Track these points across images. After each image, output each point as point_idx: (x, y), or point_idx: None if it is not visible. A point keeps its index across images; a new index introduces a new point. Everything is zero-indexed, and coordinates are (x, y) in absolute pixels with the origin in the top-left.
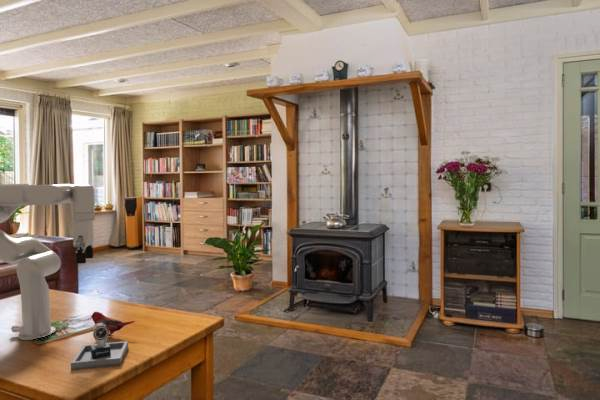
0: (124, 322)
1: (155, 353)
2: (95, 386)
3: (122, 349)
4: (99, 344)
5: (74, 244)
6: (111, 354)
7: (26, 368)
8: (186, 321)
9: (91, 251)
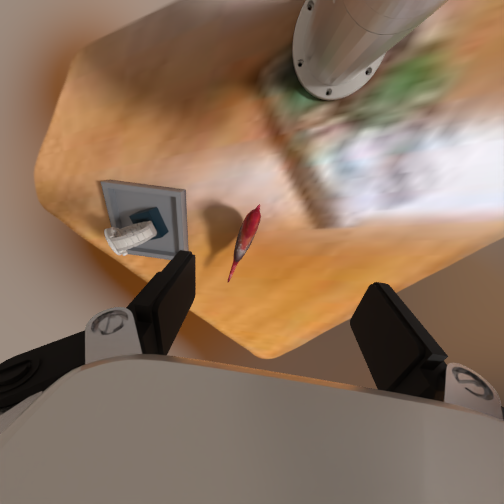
0: (234, 265)
1: None
2: (61, 220)
3: (150, 254)
4: (122, 230)
5: (22, 419)
6: None
7: (120, 86)
8: (275, 329)
9: (372, 364)
